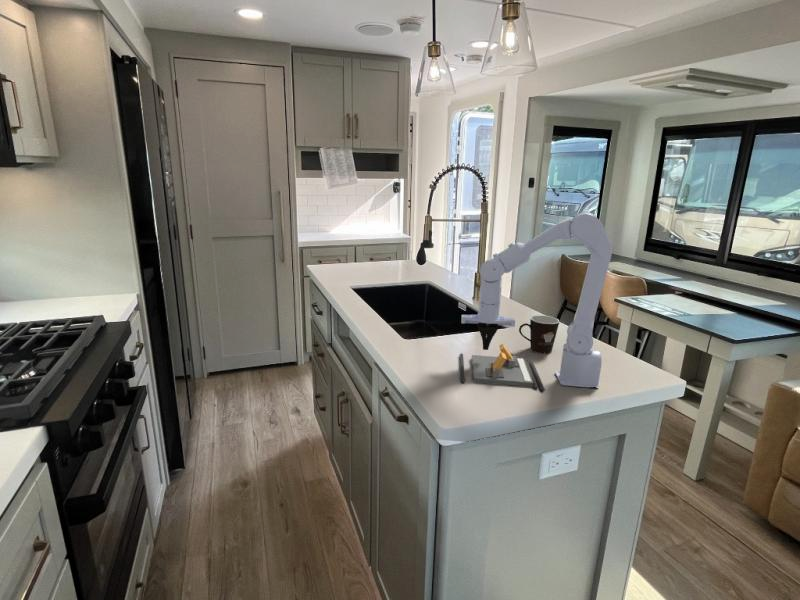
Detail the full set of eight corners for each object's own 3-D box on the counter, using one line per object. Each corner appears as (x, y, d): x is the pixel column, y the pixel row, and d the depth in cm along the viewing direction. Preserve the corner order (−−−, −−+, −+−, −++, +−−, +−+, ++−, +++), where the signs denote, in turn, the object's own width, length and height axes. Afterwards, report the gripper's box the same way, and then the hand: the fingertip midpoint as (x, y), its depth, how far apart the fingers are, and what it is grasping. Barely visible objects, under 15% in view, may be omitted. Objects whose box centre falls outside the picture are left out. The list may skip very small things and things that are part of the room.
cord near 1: (532, 362, 134) (532, 359, 133) (544, 392, 115) (545, 388, 115) (528, 362, 134) (529, 359, 133) (540, 391, 115) (541, 388, 115)
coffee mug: (554, 347, 147) (558, 317, 144) (556, 356, 139) (560, 325, 136) (517, 342, 150) (520, 313, 147) (516, 351, 142) (519, 320, 139)
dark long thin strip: (527, 363, 133) (527, 360, 132) (537, 389, 116) (538, 386, 116) (524, 363, 133) (524, 360, 133) (533, 389, 116) (534, 385, 116)
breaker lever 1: (512, 356, 131) (502, 343, 130) (514, 361, 127) (504, 348, 127) (509, 358, 131) (499, 345, 131) (510, 364, 128) (500, 350, 127)
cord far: (463, 356, 136) (463, 353, 136) (464, 383, 118) (464, 380, 118) (459, 355, 137) (459, 352, 136) (460, 383, 118) (460, 380, 118)
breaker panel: (523, 362, 133) (525, 352, 132) (532, 386, 118) (534, 375, 117) (471, 358, 135) (472, 348, 134) (474, 382, 119) (475, 370, 119)
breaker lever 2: (495, 368, 124) (505, 353, 123) (496, 374, 120) (506, 359, 119) (491, 366, 124) (501, 351, 123) (492, 372, 120) (502, 357, 119)
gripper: (514, 300, 129) (509, 345, 132) (462, 296, 130) (459, 341, 134) (518, 306, 122) (512, 354, 126) (463, 303, 123) (459, 350, 127)
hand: (485, 348), depth 129 cm, fingers closed
